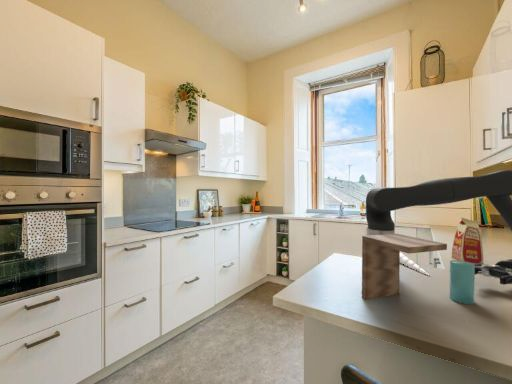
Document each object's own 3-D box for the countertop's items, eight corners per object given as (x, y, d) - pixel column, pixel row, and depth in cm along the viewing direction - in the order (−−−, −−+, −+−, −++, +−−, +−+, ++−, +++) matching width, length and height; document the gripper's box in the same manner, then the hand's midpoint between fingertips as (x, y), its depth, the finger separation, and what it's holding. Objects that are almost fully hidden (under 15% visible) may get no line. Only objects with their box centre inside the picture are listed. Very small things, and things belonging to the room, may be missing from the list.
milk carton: (462, 264, 109) (463, 218, 109) (450, 258, 118) (450, 216, 118) (486, 265, 108) (487, 219, 108) (471, 259, 117) (472, 216, 117)
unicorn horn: (419, 277, 94) (419, 264, 94) (388, 259, 118) (388, 249, 118) (432, 277, 94) (432, 264, 94) (399, 259, 118) (399, 249, 118)
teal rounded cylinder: (453, 302, 72) (454, 264, 72) (446, 294, 77) (447, 259, 77) (477, 305, 70) (478, 266, 70) (469, 297, 75) (469, 261, 75)
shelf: (395, 292, 79) (395, 233, 79) (446, 315, 65) (446, 243, 64) (361, 297, 75) (362, 235, 75) (408, 323, 60) (408, 247, 60)
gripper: (490, 254, 89) (459, 257, 84) (547, 265, 76) (514, 271, 70) (490, 275, 89) (458, 280, 84) (547, 290, 76) (513, 297, 70)
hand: (484, 275), depth 77 cm, fingers open, 8 cm apart
